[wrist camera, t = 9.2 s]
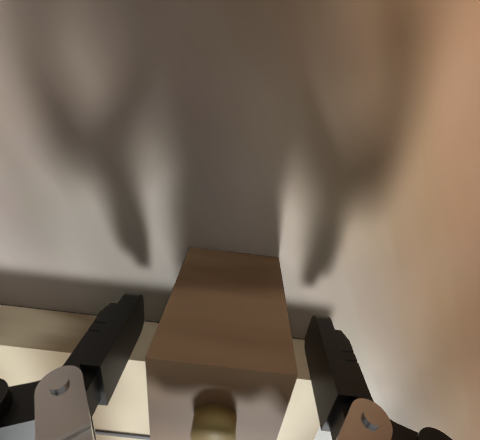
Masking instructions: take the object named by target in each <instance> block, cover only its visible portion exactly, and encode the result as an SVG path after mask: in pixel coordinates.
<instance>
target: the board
mask: <svg viewBox="0 0 480 440" xmlns="http://www.w3.org/2000/svg"><path fill="white" fill-rule="evenodd" d="M96 317H97V316H94V315H85V314H76V313H68V312H59V311H51V310H42V309H33V308H25V307H16V306H7V305H0V378H1V379H3V380H5V381H6V382H7V384H8V386H9V387H10V386H15V385H20V384H25V383H31V382H35V381H39V380H41V379H42V378H43V377H44V376H45V375H47V374H48V373H49V372H51V371H53V370H54V369H57V368H59V367H62V366H63V365H64V363H65V362H66V361H67V359H68V358H69V356H70V355H71V353H72V352H73V350H74V349H75V348H76V346H77V345H78V343H79V342H80V340H81V339H82V337H83V336H84V335H85V333H86V332H87V331H88V329H89V327H90V326H91V324H92V323H94V320H95V319H96ZM158 325H159V323H154V322H146V321H144V325H143V329H142V332H141V334H140V336H139V338H138V341H137V343H136V345H135V347H134V349H133V351H132V354H131V356H130V358H129V360H128V362H127V364H126V367H125V369H124V371H123V373H122V375H121V377H120V380H119V382H118V384H117V386H116V388H115V390H114V393H113V395H112V397H111V399H110V401H109V403H108V406H105V405H98V406H97V408H96V410H95V412H94V414H93V416H92V418H93V423H94V429H95V434H96V440H150V428H149V412H148V396H147V381H146V365H145V357H146V354H147V352H148V349H149V347H150V344H151V342H152V339H153V337H154V335H155V332H156V330H157V327H158ZM292 341H293V347H294V354H295V360H296V366H297V372H298V377H297V380H296V383H295V386H294V389H293V392H292V395H291V398H290V401H289V404H288V407H287V410H286V413H285V416H284V419H283V422H282V425H281V428H280V431H279V434H278V437H277V440H313V439H314V437H315V435H316V433H317V431H318V428H319V426H320V422H319V417H318V412H317V408H316V403H315V398H314V393H313V388H312V383H311V379H310V374H309V369H308V364H307V359H306V355H305V347H304V343H305V340H301V339H293V338H292Z"/></svg>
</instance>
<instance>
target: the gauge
mask: <svg viewBox="0 0 480 440" xmlns="http://www.w3.org/2000/svg"><path fill="white" fill-rule="evenodd" d="M145 365H146V381H147V396H148V412H149V428H150V440H277V437H278V434H279V431H280V428H281V425H282V422H283V419H284V416H285V413H286V410H287V407H288V404H289V401H290V398H291V395H292V392H293V389H294V386H295V383H296V380H297V377H298V372H297V366H296V360H295V354H294V347H293V341H292V335H291V329H290V323H289V317H288V311H287V305H286V299H285V293H284V287H283V281H282V274H281V268H280V262H279V258H276V257H268V256H259V255H251V254H243V253H235V252H226V251H218V250H210V249H201V248H193V247H190V248H189V250H188V253H187V255H186V258H185V260H184V263H183V265H182V268H181V270H180V273H179V275H178V278H177V280H176V283H175V285H174V287H173V290H172V292H171V295H170V297H169V300H168V302H167V305H166V307H165V310H164V312H163V315H162V317H161V320H160V322H159V325H158V327H157V330H156V332H155V335H154V337H153V339H152V342H151V344H150V347H149V349H148V352H147V354H146V357H145Z"/></svg>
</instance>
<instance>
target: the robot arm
mask: <svg viewBox="0 0 480 440" xmlns="http://www.w3.org/2000/svg"><path fill="white" fill-rule="evenodd" d="M143 325H144V303H143V295H140V294H131V293H125V294H124V295H123V296H122V298H121V300H120V301H119V303H118V304H115V303H111V304H109V305H108V306H107V307H105V308H104V309H103V310H102V311H100V313H99V314H98V316H97V317H96V319H95V320H94V323H92V324H91V326H90V327H89V329H88V331H87V332H86V333H85V335H84V336H83V337H82V339H81V340H80V342H79V343H78V345H77V346H76V348H75V349H74V350H73V352H72V353H71V355H70V356H69V358H68V359H67V361H66V362H65V363H64V365H63V366H62V367H59V368H57V369H54V370H53V371H51V372H49V373H48V374H47V375H45V376H44V377H43V378H42V379H41V380H39V381H35V382H31V383H25V384H20V385H15V386H10V387H9V386H8V384H7V382H6V381H5V380H3V379H1V378H0V440H96V434H95V429H94V423H93V418H92V416H93V414H94V412H95V410H96V408H97V406H98V405H105V406H108V403H109V401H110V399H111V397H112V395H113V393H114V390H115V388H116V386H117V384H118V382H119V380H120V377H121V375H122V373H123V371H124V369H125V367H126V364H127V362H128V360H129V358H130V356H131V354H132V351H133V349H134V347H135V345H136V343H137V341H138V338H139V336H140V334H141V332H142V329H143ZM304 347H305V355H306V359H307V364H308V369H309V374H310V379H311V383H312V388H313V393H314V398H315V403H316V408H317V412H318V417H319V422H320V427H321V431H330V432H331V436H332V440H452V439H451V438H450V437H448V436H447V435H446V434H444V433H443V432H441V431H439V430H437V429H435V428H431V427H426V428H423V429H422V430H421V431H420V432H419V433H417V432H415V431H413V430H411V429H408V428H406V427H404V426H402V425H399V424H397V423H395V422H393V421H392V420H390V419H389V417H388V416H387V414H386V413H385V412H384V410H383V409H382V408H381V407H380V406H379V405H377V404H376V403H374V401H373V399H372V397H371V394H370V392H369V389H368V387H367V384H366V382H365V379H364V377H363V374H362V372H361V369H360V367H359V364H358V363H357V359H356V357H355V354H354V353H353V349H352V346H351V344H350V341H349V340H348V339H347V337H346V336H345V335H344V334H343V332H342V331H341V330H335V329H334V326H333V323H332V321H331V319H330V318H329V317H323V316H314V315H313V316H312V318H311V321H310V324H309V327H308V331H307V334H306V337H305V343H304Z"/></svg>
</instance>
